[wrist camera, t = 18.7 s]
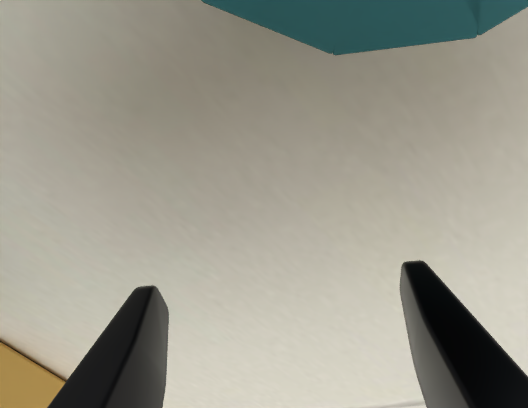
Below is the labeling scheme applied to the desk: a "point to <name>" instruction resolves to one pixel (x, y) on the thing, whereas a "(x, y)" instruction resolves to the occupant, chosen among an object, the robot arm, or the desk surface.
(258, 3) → the ring
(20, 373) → the rubber stamp
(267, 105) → the desk surface
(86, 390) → the robot arm
